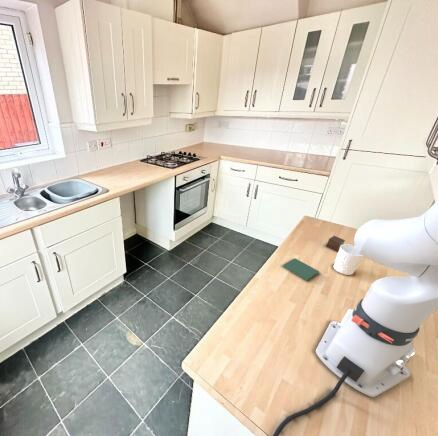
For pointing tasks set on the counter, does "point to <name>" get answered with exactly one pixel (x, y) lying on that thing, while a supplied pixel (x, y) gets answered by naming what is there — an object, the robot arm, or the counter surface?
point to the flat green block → (301, 269)
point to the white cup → (347, 259)
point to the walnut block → (335, 243)
